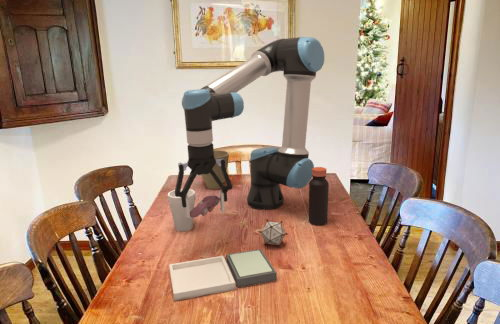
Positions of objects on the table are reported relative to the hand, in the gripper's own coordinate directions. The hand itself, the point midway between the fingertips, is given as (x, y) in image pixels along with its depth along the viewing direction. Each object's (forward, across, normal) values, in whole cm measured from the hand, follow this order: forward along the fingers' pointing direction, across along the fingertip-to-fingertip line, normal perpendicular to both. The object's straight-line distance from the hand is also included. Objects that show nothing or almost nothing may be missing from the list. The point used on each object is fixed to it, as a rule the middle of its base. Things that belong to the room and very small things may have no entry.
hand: (205, 213), depth 116 cm
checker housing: (+12, -9, +17) cm, 23 cm away
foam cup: (+12, +6, -18) cm, 22 cm away
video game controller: (0, 0, -1) cm, 1 cm away
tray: (+11, +5, +17) cm, 21 cm away
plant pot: (+13, -13, -59) cm, 61 cm away
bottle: (+13, -41, -7) cm, 44 cm away
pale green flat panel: (+10, -9, +17) cm, 22 cm away
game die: (+12, -20, +4) cm, 24 cm away
